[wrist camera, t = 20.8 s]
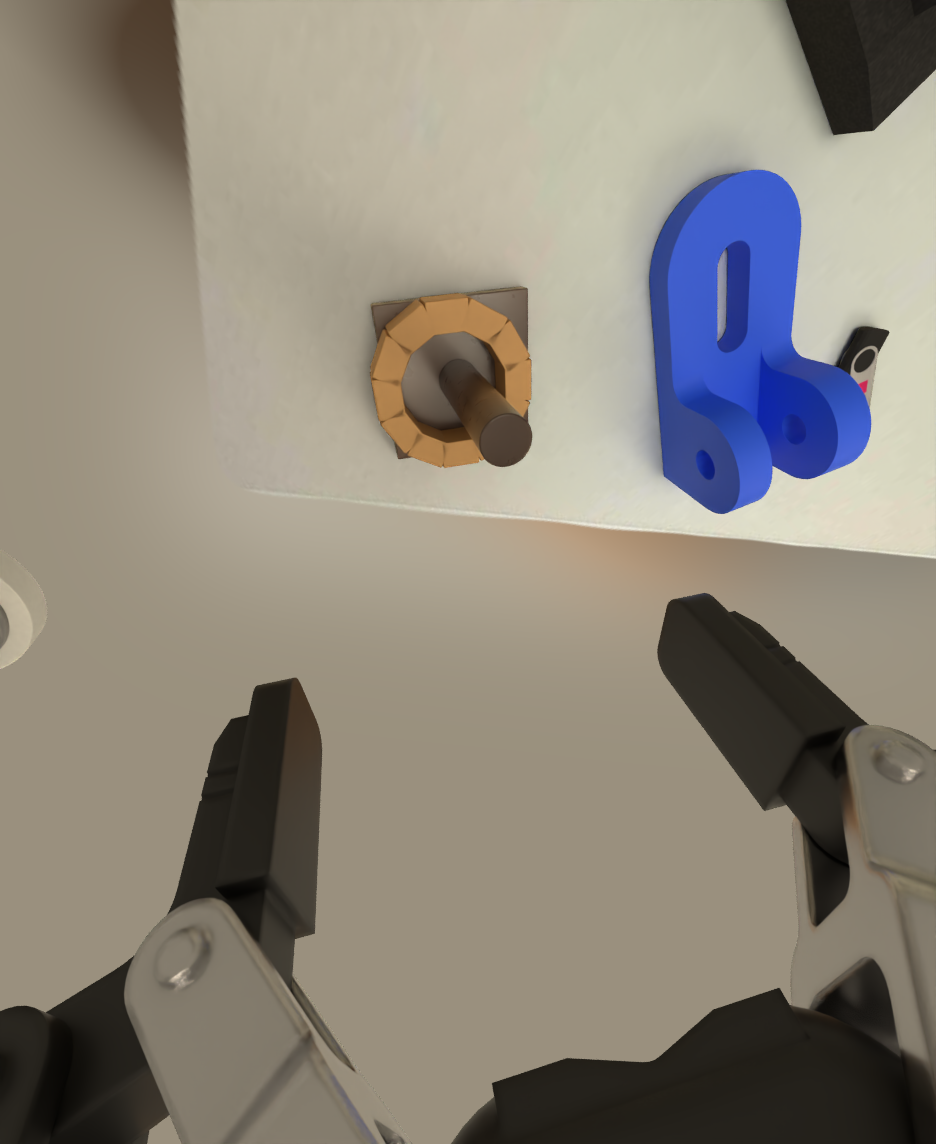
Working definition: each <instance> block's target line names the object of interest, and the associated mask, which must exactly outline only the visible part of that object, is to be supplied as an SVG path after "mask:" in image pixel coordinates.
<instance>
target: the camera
mask: <svg viewBox="0 0 936 1144" xmlns="http://www.w3.org/2000/svg"><path fill="white" fill-rule="evenodd" d="M786 1H787V4H788V7H789V10H790V13H791V15H792V18H793V21H794V24H795V27H796V30H797V32H798V35H799V38H800V41H801V44H802V47H803V49H804V52H805V55H806V58H807V61H808V64H809V66H810V69H811V72H812V75H813V78H814V81H815V83H816V86H817V89H818V92H819V95H820V98H821V100H822V103H823V106H824V109H825V112H826V114H827V117H828V120H829V123H830V126H831V129H832V131H833V134H834V135H837V134H847V133H856V132H865V131H874V130H875V129H876V128H877V127H878V126H879V125H880V124H881V123H882V122H883V121H884V120H885V119H886V118H887V117H888V116H889V115H890V114H891V113H892V112H893V111H894V110H895V109H896V108H897V107H898V106H899V105H900V104H901V103H902V102H903V101H904V100H905V99H906V98H907V97H908V96H909V95H910V94H911V93H912V92H913V91H914V90H915V89H916V88H917V87H918V86H919V85H920V84H921V83H923V82H924V81H925V80H926V79H927V78H928V77H929V76H930V75H931V74H932V73H933V72H934V71H935V70H936V0H786Z"/></svg>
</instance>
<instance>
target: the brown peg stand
mask: <svg viewBox="0 0 936 1144" xmlns="http://www.w3.org/2000/svg"><path fill="white" fill-rule="evenodd" d="M460 294H464V295H466V296H469V297H471V298H473V299H474V300H476V301H478V302H480V303H482V304H484V305H486V306H487V307H489V308H491V309H493V310H495V311H497V312H499V313H500V314H502V315H504V316H506V317H507V319H509V320H510V321H511V322H512V324H513V326H514V327H515V329H516V331H517V333H518V335H519V336H520V338H521V340H522V342H523V344H524V345H525V347H526V349H527V351H528V289H527V288H525V287H521V286H520V287H511V288H502V289H494V290H485V291H476V292H467V293H460ZM416 299H417V300H418V301H419V302H420V300H419V298H415V299H406V300H397V301H388V302H380V303H372V304H371V309H372V315H373V320H374V326H375V332H376V338H377V343H378V342H379V339H380V336H381V333H382V330H383V329H385V330H387V329H386V327H385V326H386V324H388V323H389V322H390V321H391V320H392V319H393V318H395V317H396V316H397V315H398V314H399V313H400V312H402V311H403V310H404V309H405V308H406V307H408V306H409V305H410V304H411V303H412V302H413V301H415V300H416ZM401 387H402V393H403V400H404V404H405V406H406V407H407V408H408V410H409V411H410V412H411V413H412V415H413V416H414V417H415V419H416V420H417V421H418V422H421V423H423V424H426V425H428V426H431V427H433V428H436V429H438V430H448V429H455V428H461V427H465V429H466V430H467V432H468V433H469V435H470V437H471V438H472V440H473V441H474V443H475V445H476V446H477V448H478V450H479V451H480V453H481V454H482V456H483V458H484V459H485V460H486V461H487V462H489V463H490V464H492V465H495V466H499V467H506V466H511V465H514V464H516V463H517V462H519V461H520V460H521V459H523V458H524V456H525V455H526V454H527V452H528V451H529V449H530V446H531V442H532V431H531V427H530V425H529V423H528V408H527V410H526V412H525V414H524V416H523V417H522V416H521V415H520V414H519V413H518V411H517V410H516V409H515V408H514V407H513V406H512V405H511V404H510V403H509V402H508V401H507V400H506V399H505V398H504V397H503V396H502V395H501V394H500V393H499V392H498V391H497V390H496V389H495V388H496V382H495V361H494V359H493V357H492V356H491V354H490V352H489V351H488V349H487V347H486V346H485V344H484V342H483V341H482V340H480V339H478V338H476V337H474V336H472V335H470V334H468V333H466V332H457V333H449V334H441V335H434V336H433V337H432V338H431V339H430V340H428V341H427V342H426V343H425V344H423V345H422V346H421V347H420V348H419V349H417V350H416V351H415V352H414V353H413V354H411V357H410V360H409V362H408V365H407V368H406V370H405V373H404V376H403V379H402V381H401ZM395 446H396V452H397V457H398V459H403V458H410V457H411V456H408V455H407V453H404V452H403V451H402V449H401V448H400V447H399V446H398V445H397V444H396V442H395Z"/></svg>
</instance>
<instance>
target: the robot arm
mask: <svg viewBox="0 0 936 1144" xmlns="http://www.w3.org/2000/svg"><path fill="white" fill-rule="evenodd" d="M8 635H9V621H8V618H7V615H6V613H5V611H4V609H3V608H2V606H1V605H0V649H1V648H2V646H3V645H4V644H5V642H6V641H7V638H8ZM657 653H658V660H659V664H660V667H661V669H662V671H663V673H664V675H665V676H666V678H667V679H668V681H669V682H670V683H671V685H672V686H673V687H674V689H675V690H676V691H677V693H678V694H679V696H680V697H681V698H682V699H683V701H684V702H685V704H686V705H687V706H688V708H689V709H690V711H691V712H692V713H693V715H694V716H695V717H696V719H697V720H698V721H699V723H700V724H701V726H702V727H703V728H704V730H705V731H706V732H707V734H708V735H709V736H710V738H711V739H712V741H713V742H714V743H715V745H716V746H717V747H718V749H719V750H720V751H721V753H722V754H723V756H724V757H725V758H726V759H727V761H728V762H729V764H730V765H731V766H732V768H733V769H734V770H735V772H736V773H737V775H738V776H739V777H740V779H741V780H742V781H743V782H744V784H745V785H746V787H747V788H748V789H749V791H750V792H751V794H752V795H753V796H754V798H755V799H756V800H757V802H758V803H759V805H760V806H761V807H762V809H763V810H764V811H766V810H770V809H773V808H777V807H781V806H784V805H787V806H788V807H789V808H790V810H791V811H792V812H793V813H794V815H795V817H794V819H793V822H792V836H793V850H794V865H795V879H796V894H797V909H798V925H799V926H798V927H799V928H798V939H797V944H796V947H795V950H794V954H793V959H792V966H791V1004H792V1005H789V1003H788V1002H787V1000H786V998H785V997H784V995H783V993H782V991H781V990H780V988H777V989H774V990H771V991H768V992H765V993H762V994H759V995H756V996H753V997H750V998H747V999H744V1000H741V1001H738V1002H735V1003H732V1004H729V1005H726V1006H723V1007H720V1008H717V1009H714V1010H712V1011H711V1012H710V1013H709V1014H708V1015H707V1016H706V1017H704V1018H703V1019H702V1020H701V1021H700V1022H699V1023H698V1024H696V1025H695V1026H694V1027H693V1028H692V1029H691V1030H689V1031H688V1032H687V1033H686V1034H685V1035H684V1036H683V1037H681V1038H680V1039H679V1040H678V1041H677V1042H676V1043H675V1044H673V1045H672V1046H671V1047H670V1048H669V1049H668V1050H667V1051H665V1052H664V1053H663V1054H662V1055H661V1056H660V1057H658V1058H657V1059H656V1060H653V1061H650V1062H626V1061H608V1060H590V1059H572V1058H571V1059H570V1058H566V1059H563V1060H560V1061H557V1062H554V1063H552V1064H548V1065H545V1066H542V1067H539V1068H536V1069H533V1070H530V1071H527V1072H524V1073H521V1074H518V1075H515V1076H512V1077H509V1078H506V1079H503V1080H500V1081H497V1082H494V1083H492V1085H493V1092H494V1098H492V1099H491V1100H490V1101H489V1102H487V1104H485V1105H484V1106H483V1107H482V1108H480V1109H479V1110H478V1111H477V1112H476V1114H474V1115H473V1116H472V1118H471V1119H470V1120H469V1121H468V1122H467V1123H466V1124H465V1125H464V1127H463V1128H462V1129H461V1131H460V1132H459V1133H458V1135H457V1136H456V1138H455V1139H454V1140H453V1142H452V1143H451V1144H936V750H932V749H931V748H930V747H929V746H927V745H926V744H924V743H923V742H921V741H920V740H918V739H916V738H914V737H913V736H910V735H909V734H906V733H904V732H902V731H899V730H896V729H893V728H889V727H884V726H879V725H869V724H867V723H866V722H865V721H864V720H862V719H861V718H860V717H859V716H858V715H857V714H855V712H854V711H852V710H851V709H850V708H849V707H848V706H847V705H846V704H845V703H844V702H843V701H842V700H841V699H840V698H838V697H837V696H836V695H835V694H834V693H833V692H832V691H831V690H830V689H829V688H828V687H827V686H826V685H824V684H823V683H822V682H821V681H820V680H819V679H818V678H817V677H816V676H815V675H814V674H813V673H811V672H810V671H809V670H808V669H807V668H806V667H805V666H804V665H803V664H802V663H801V662H797V661H796V660H795V657H794V656H793V655H792V654H791V653H790V652H789V651H788V650H787V649H786V648H785V647H784V646H782V647H781V646H780V645H779V642H778V641H777V640H776V639H775V638H774V637H773V636H772V635H771V634H770V633H768V632H767V631H766V630H765V629H764V628H763V627H762V626H761V625H760V624H758V623H756V622H754V621H752V620H751V619H749V618H747V617H745V616H743V615H741V614H739V613H737V612H736V611H733V612H728V611H727V610H726V609H725V608H724V607H723V606H722V605H721V604H720V603H719V602H718V601H717V600H716V599H715V598H714V597H713V596H711V595H710V594H707V593H702V594H697V595H692V596H687V597H683V598H678V599H673V600H671V601H670V602H669V603H668V605H667V609H666V613H665V618H664V622H663V626H662V631H661V635H660V640H659V644H658V652H657ZM321 767H322V743H321V735H320V731H319V727H318V724H317V721H316V719H315V716H314V714H313V712H312V710H311V707H310V705H309V702H308V700H307V698H306V695H305V693H304V691H303V688H302V686H301V684H300V682H299V680H298V679H297V678H291V679H287V680H281V681H277V682H272V683H267V684H262V685H258V686H256V687H255V689H254V692H253V696H252V701H251V706H250V711H249V715H247V716H243V717H238V718H234V719H231V720H230V722H229V723H228V725H227V726H226V728H225V729H224V731H223V732H222V734H221V735H220V737H219V738H218V740H217V741H216V743H215V744H214V747H213V751H212V755H211V759H210V763H209V767H208V771H207V773H208V777H206V779H205V782H204V787H203V790H202V801H200V802H199V806H198V810H197V814H196V818H195V822H194V826H193V830H192V833H191V838H190V841H189V845H188V849H187V853H186V857H185V861H184V865H183V869H182V873H181V877H180V881H179V885H178V889H177V892H176V896H175V898H174V901H173V904H172V906H171V908H170V910H169V912H168V914H167V916H165V917H164V918H163V919H162V920H161V921H160V922H159V923H158V924H157V925H156V926H155V927H154V928H153V929H152V930H151V932H150V933H149V934H148V935H147V936H146V938H145V939H144V941H143V942H142V944H141V945H140V947H139V949H138V950H137V952H136V954H135V956H133V957H132V958H131V959H129V960H128V961H127V962H126V963H124V964H123V965H122V966H120V967H119V968H117V969H116V970H114V971H113V972H111V973H109V974H108V975H106V976H104V977H103V978H101V979H100V980H98V981H96V982H95V983H93V984H91V985H90V986H88V987H87V988H85V989H83V990H82V991H80V992H78V993H77V994H75V995H74V996H72V997H70V998H69V999H67V1000H65V1001H64V1002H62V1003H61V1004H59V1005H57V1006H56V1007H54V1008H52V1009H51V1010H49V1011H47V1012H46V1013H45V1012H43V1011H40V1010H38V1009H36V1008H33V1007H29V1006H16V1007H12V1008H8V1009H5V1010H2V1011H0V1144H147V1140H148V1135H149V1130H150V1129H151V1128H153V1127H154V1126H155V1125H157V1124H158V1123H159V1122H161V1121H162V1120H163V1119H165V1118H166V1117H167V1116H168V1115H170V1117H171V1119H172V1122H173V1124H174V1126H175V1129H176V1131H177V1134H178V1136H179V1139H180V1141H181V1143H182V1144H412V1143H411V1141H410V1140H409V1138H408V1137H407V1135H406V1134H405V1132H404V1131H403V1129H402V1128H401V1127H400V1125H399V1124H398V1122H397V1121H396V1119H395V1118H394V1116H393V1115H392V1113H391V1112H390V1111H389V1109H388V1108H387V1106H386V1105H385V1104H384V1102H383V1101H382V1100H381V1098H380V1097H379V1096H378V1094H377V1093H376V1092H375V1090H374V1089H373V1088H372V1086H371V1085H370V1084H369V1083H368V1082H367V1080H366V1079H365V1078H364V1077H363V1075H362V1074H361V1072H360V1071H359V1069H358V1068H357V1067H356V1065H355V1064H354V1062H353V1061H352V1060H351V1058H350V1056H349V1055H348V1053H347V1052H346V1051H345V1049H344V1048H343V1046H342V1045H341V1043H340V1042H339V1040H338V1039H337V1037H336V1036H335V1034H334V1033H333V1031H332V1030H331V1028H330V1027H329V1025H328V1024H327V1023H326V1021H325V1020H324V1018H323V1017H322V1015H321V1014H320V1012H319V1011H318V1009H317V1008H316V1006H315V1005H314V1004H313V1002H312V1001H311V999H310V998H309V996H308V995H307V993H306V992H305V991H304V989H303V988H302V986H301V984H300V983H299V981H298V980H297V978H296V977H295V975H294V974H293V956H294V943H295V939H297V938H300V937H304V936H308V935H311V934H314V933H315V914H316V890H317V889H316V888H317V865H318V841H319V840H318V839H319V816H320V791H321Z"/></svg>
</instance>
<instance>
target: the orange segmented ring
mask: <svg viewBox="0 0 936 1144" xmlns="http://www.w3.org/2000/svg"><path fill="white" fill-rule="evenodd" d="M419 300H420V302H419V301H418V300H417V299H416V300H415V301H413V302H412V303H411V304H410V305H409V306H408V307H406V308H405V309H404V310H403V311H402V312H400V313H399V314H398V315H397V316H396V317H395V318H393V319H392V320H391V321H390V322H389V323H388V324H386V326H385V327H386V329H387V330H385V329H383V330H382V333H381V336H380V339H379V342H378V345H377V348H376V351H375V354H374V357H373V360H372V363H371V366H370V369H371V372H370V376H371V382H372V388H373V393H374V398H375V403H376V408H377V414H378V419H379V421H380V423H381V426H382V427H383V428H384V429H385V431H386V432H387V433H388V434H389V435H390V436H391V438H392V439H393V440H394V441H395V442H396V444H397V445H398V446H399V447H400V448H401V449H402V451H403V452H404V453H407V455H408V456H411V457H413V458H416V459H419V460H421V461H424V462H427V463H430V464H432V465H435V466H438V467H442V465H443V466H444V468H447V467H453V466H459V465H465V464H472V463H478V462H479V459H480V460H481V461H482V460H484V458H483V456H482V454H481V453H480V451H479V450H478V448H477V446H476V445H475V443H474V441H473V440H472V438H471V437H470V435H469V433H468V432H467V430H466V429H465V427H461V428H455V429H448V430H438V429H436V428H433V427H431V426H428V425H426V424H423V423H421V422H418V421H417V420H416V419H415V417H414V416H413V415H412V413H411V412H410V411H409V410H408V408H407V407H406V406H405V404H404V400H403V393H402V387H401V381H402V379H403V376H404V373H405V370H406V368H407V365H408V362H409V360H410V357H411V354H413V353H414V352H415V351H416V350H417V349H419V348H420V347H421V346H422V345H423V344H425V343H426V342H427V341H428V340H430V339H431V338H432V337H433V336H434V335H441V334H449V333H457V332H466V333H468V334H470V335H472V336H474V337H476V338H478V339H480V340H482V341H483V342H484V344H485V346H486V347H487V349H488V351H489V352H490V354H491V356H492V357H493V359H494V361H495V382H496V388H495V389H496V390H497V391H498V392H499V393H500V394H501V395H502V396H503V397H504V398H505V399H506V400H507V401H508V402H509V403H510V404H511V405H512V406H513V407H514V408H515V409H516V410H517V411H518V413H519V414H520V415H521V416H522V417H523V416H524V414H525V412H526V410H527V408H528V406H529V404H530V402H529V401H528V400H531V359H529V357H530V354H529V353H528V351H527V349H526V347H525V345H524V344H523V342H522V340H521V338H520V336H519V335H518V333H517V331H516V329H515V327H514V326H513V324H512V322H511V321H510V320H509V319H507V317H506V316H504V315H502V314H500V313H499V312H497V311H495V310H493V309H491V308H489V307H487V306H486V305H484V304H482V303H480V302H478V301H476V300H474V299H473V298H471V297H469V296H466V295H464V294H460V293H454V294H446V295H437V296H428V297H420V298H419Z"/></svg>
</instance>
